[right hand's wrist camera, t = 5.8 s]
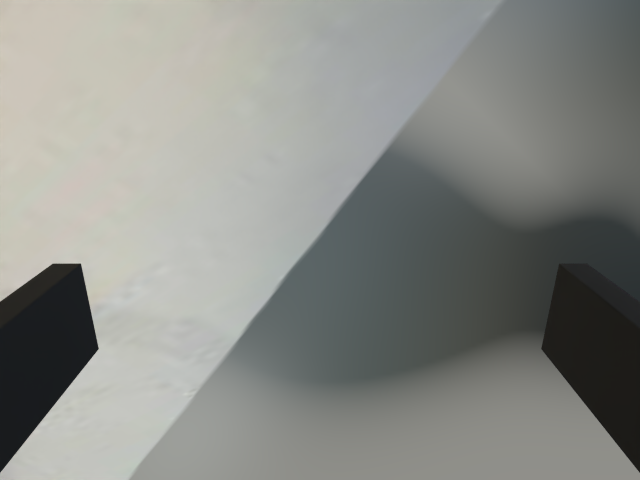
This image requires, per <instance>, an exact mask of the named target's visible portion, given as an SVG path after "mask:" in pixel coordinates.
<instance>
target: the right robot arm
mask: <svg viewBox="0 0 640 480" xmlns="http://www.w3.org/2000/svg"><path fill="white" fill-rule="evenodd" d="M98 349H99V348H98V344H97V339H96V334H95V329H94V324H93V320H92V315H91V310H90V305H89V300H88V296H87V291H86V286H85V281H84V276H83V272H82V267H81V264H52V265H51V266H49V267H48V268H46V269H45V270H44V271H42V272H41V273H39V274H38V275H37V276H35V277H34V278H33V279H31V280H30V281H28V282H27V283H26V284H24V285H23V286H21V287H20V288H19V289H17V290H16V291H15V292H13V293H12V294H10V295H9V296H8V297H6V298H5V299H3V300H2V301H1V302H0V472H1V471H2V470H3V468H4V467H5V466H6V465H7V463H8V462H9V461H10V460H11V458H12V457H13V456H14V455H15V453H16V452H17V451H18V450H19V448H20V447H21V446H22V445H23V443H24V442H25V441H26V440H27V438H28V437H29V436H30V435H31V433H32V432H33V431H34V429H35V428H36V427H37V426H38V424H39V423H40V422H41V421H42V419H43V418H44V417H45V416H46V414H47V413H48V412H49V411H50V409H51V408H52V407H53V406H54V404H55V403H56V402H57V401H58V399H59V398H60V397H61V396H62V394H63V393H64V392H65V391H66V389H67V388H68V387H69V385H70V384H71V383H72V382H73V380H74V379H75V378H76V377H77V375H78V374H79V373H80V372H81V370H82V369H83V368H84V367H85V365H86V364H87V363H88V362H89V360H90V359H91V358H92V357H93V355H94V354H95V353H96V352H97V350H98ZM542 350H543V352H544V353H545V354H546V355H547V357H548V358H549V359H550V360H551V362H552V363H553V364H554V365H555V367H556V368H557V369H558V370H559V372H560V373H561V374H562V375H563V377H564V378H565V379H566V380H567V382H568V383H569V384H570V385H571V387H572V388H573V389H574V391H575V392H576V393H577V394H578V396H579V397H580V398H581V399H582V401H583V402H584V403H585V404H586V406H587V407H588V408H589V409H590V411H591V412H592V413H593V414H594V416H595V417H596V418H597V419H598V421H599V422H600V423H601V424H602V426H603V427H604V428H605V429H606V431H607V432H608V433H609V434H610V436H611V437H612V438H613V440H614V441H615V442H616V443H617V445H618V446H619V447H620V448H621V450H622V451H623V452H624V453H625V455H626V456H627V457H628V458H629V460H630V461H631V462H632V463H633V465H634V466H635V467H636V468H637V470H638V471H639V472H640V302H639V301H638V300H636V299H635V298H634V297H632V296H631V295H630V294H628V293H627V292H625V291H624V290H623V289H621V288H620V287H618V286H617V285H616V284H614V283H613V282H612V281H610V280H609V279H607V278H606V277H605V276H603V275H602V274H601V273H599V272H598V271H596V270H595V269H594V268H592V267H591V266H589V265H588V264H559V267H558V272H557V276H556V281H555V286H554V291H553V296H552V301H551V305H550V310H549V315H548V320H547V324H546V329H545V334H544V339H543V344H542Z"/></svg>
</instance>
